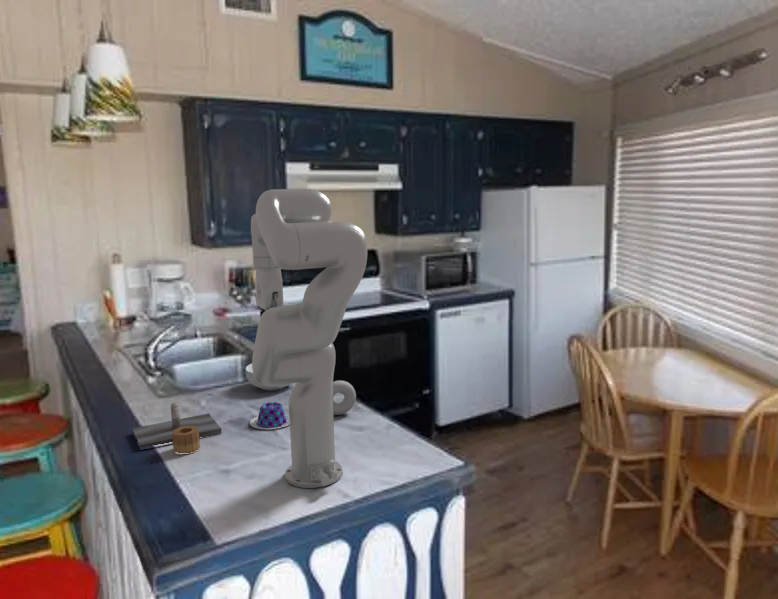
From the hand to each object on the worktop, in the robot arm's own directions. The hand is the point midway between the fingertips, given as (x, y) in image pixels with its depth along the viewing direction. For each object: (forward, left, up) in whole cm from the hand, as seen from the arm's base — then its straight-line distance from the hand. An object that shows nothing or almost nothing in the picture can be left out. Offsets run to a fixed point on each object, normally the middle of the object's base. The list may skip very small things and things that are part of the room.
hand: (272, 329), depth 156 cm
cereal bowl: (+37, -12, -28) cm, 48 cm away
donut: (+2, -19, -28) cm, 34 cm away
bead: (+1, +23, -28) cm, 36 cm away
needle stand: (+13, +23, -28) cm, 38 cm away
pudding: (+7, -1, -28) cm, 29 cm away
